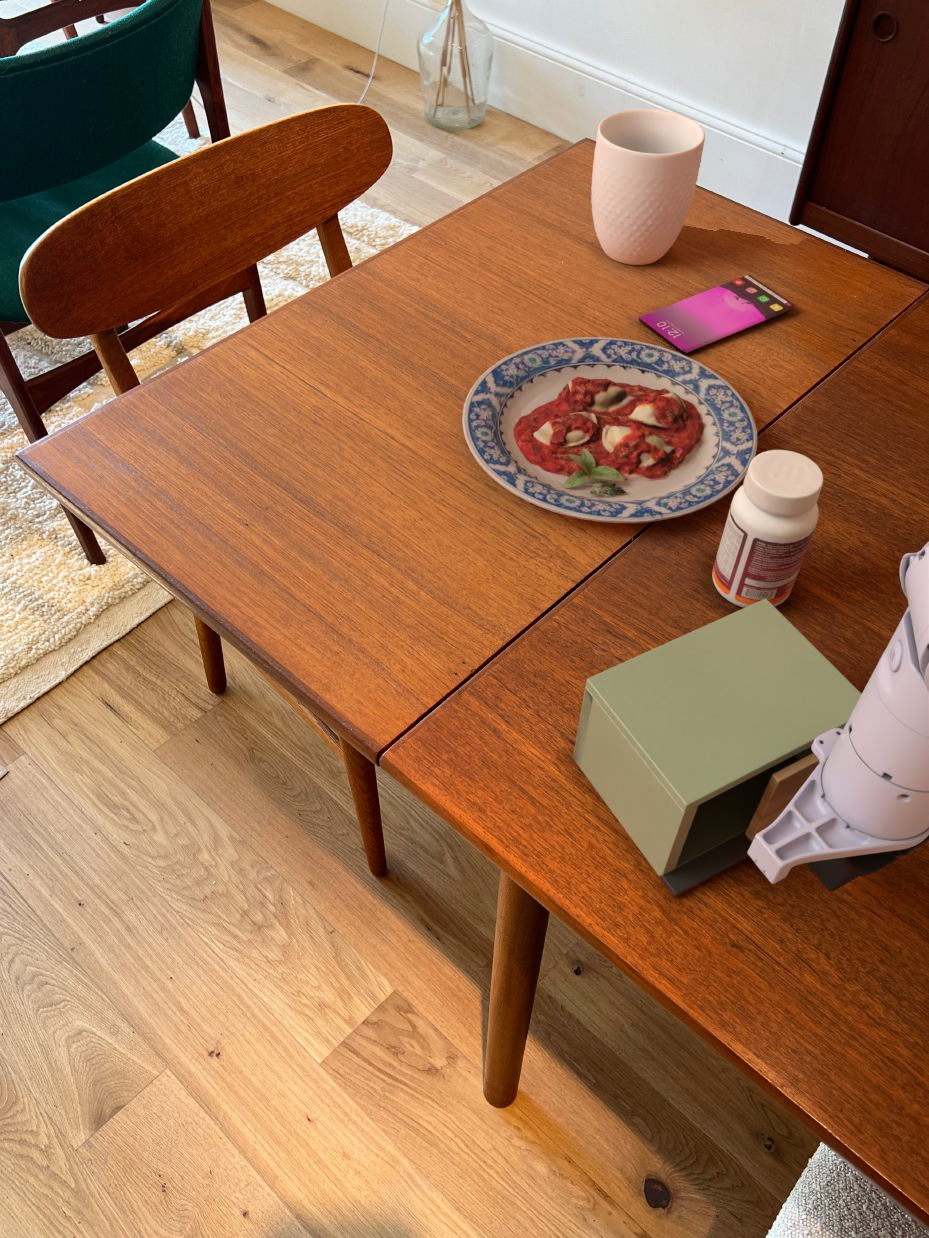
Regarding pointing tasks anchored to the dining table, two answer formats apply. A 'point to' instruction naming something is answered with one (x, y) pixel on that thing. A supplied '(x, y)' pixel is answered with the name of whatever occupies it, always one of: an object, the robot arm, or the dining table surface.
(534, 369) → the ceramic plate
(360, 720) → the dining table surface
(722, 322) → the smartphone
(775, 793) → the sliding door
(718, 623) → the cupboard
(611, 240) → the mug
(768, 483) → the pill bottle
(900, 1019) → the dining table surface
